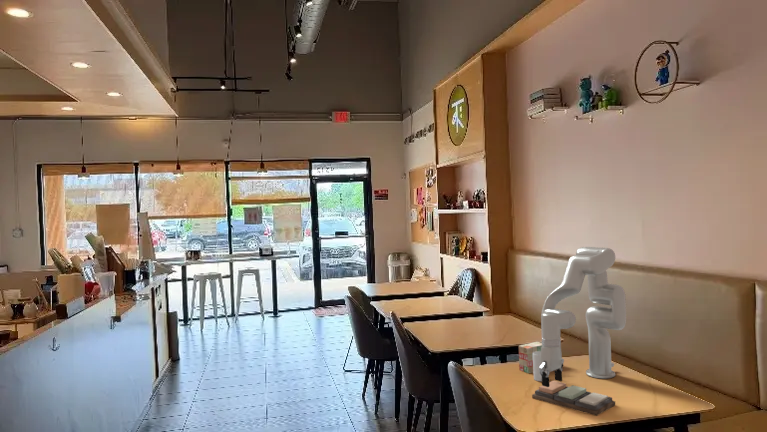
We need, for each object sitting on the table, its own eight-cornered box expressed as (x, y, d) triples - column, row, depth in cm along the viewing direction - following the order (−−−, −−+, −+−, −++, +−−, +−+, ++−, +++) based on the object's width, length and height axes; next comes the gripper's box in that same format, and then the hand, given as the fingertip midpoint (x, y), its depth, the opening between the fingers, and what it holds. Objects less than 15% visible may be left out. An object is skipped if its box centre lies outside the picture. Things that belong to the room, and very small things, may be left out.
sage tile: (572, 389, 229) (572, 385, 229) (586, 392, 225) (586, 388, 225) (558, 395, 222) (558, 392, 222) (572, 399, 218) (572, 395, 218)
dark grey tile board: (551, 388, 239) (551, 382, 239) (615, 405, 218) (615, 397, 218) (532, 398, 229) (532, 390, 229) (596, 415, 208) (596, 408, 208)
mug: (540, 382, 248) (539, 356, 247) (530, 378, 254) (529, 352, 253) (557, 378, 252) (556, 352, 252) (547, 374, 258) (546, 349, 258)
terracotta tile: (553, 384, 236) (553, 380, 236) (566, 387, 232) (566, 383, 232) (539, 390, 229) (538, 387, 229) (552, 394, 224) (551, 390, 224)
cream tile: (593, 396, 223) (593, 392, 223) (607, 399, 218) (607, 395, 218) (579, 403, 215) (579, 399, 215) (594, 407, 211) (594, 403, 211)
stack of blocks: (552, 362, 277) (551, 338, 276) (561, 366, 271) (560, 341, 271) (519, 370, 267) (518, 345, 266) (528, 373, 261) (527, 347, 261)
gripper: (554, 337, 238) (555, 376, 239) (531, 344, 227) (532, 386, 227) (570, 340, 233) (571, 380, 233) (547, 348, 221) (548, 390, 221)
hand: (552, 383), depth 230 cm, fingers open, 9 cm apart
